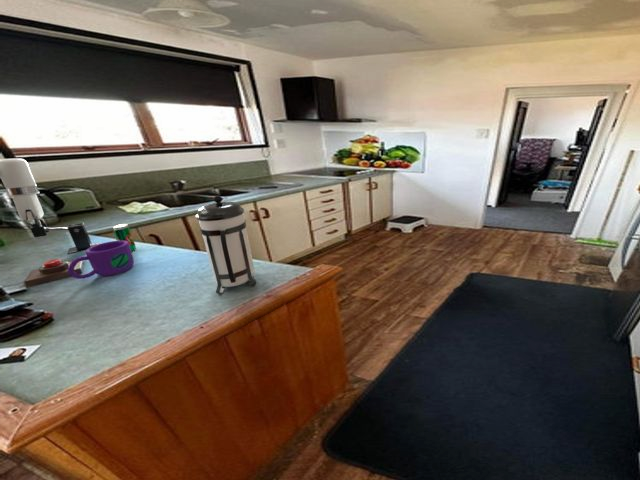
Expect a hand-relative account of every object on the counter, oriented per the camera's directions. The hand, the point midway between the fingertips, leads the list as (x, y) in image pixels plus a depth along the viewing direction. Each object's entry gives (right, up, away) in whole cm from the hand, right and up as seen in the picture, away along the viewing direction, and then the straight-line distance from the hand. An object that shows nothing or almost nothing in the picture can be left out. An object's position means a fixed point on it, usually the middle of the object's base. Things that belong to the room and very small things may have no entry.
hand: (41, 234), depth 111 cm
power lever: (+4, +1, +3) cm, 5 cm away
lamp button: (+21, -11, -13) cm, 27 cm away
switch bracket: (+7, -7, +10) cm, 14 cm away
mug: (+39, -14, -12) cm, 44 cm away
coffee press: (+92, -16, -21) cm, 96 cm away
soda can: (+30, -8, +7) cm, 32 cm away
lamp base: (+21, -15, -12) cm, 28 cm away
